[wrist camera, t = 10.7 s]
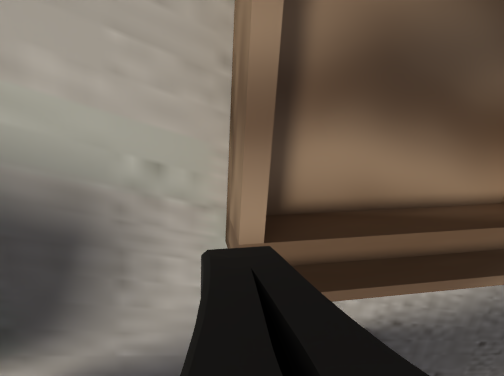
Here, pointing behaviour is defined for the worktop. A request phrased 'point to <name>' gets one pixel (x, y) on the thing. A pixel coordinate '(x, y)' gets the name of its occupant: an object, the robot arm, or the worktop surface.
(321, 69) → the lid box
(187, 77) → the worktop surface
